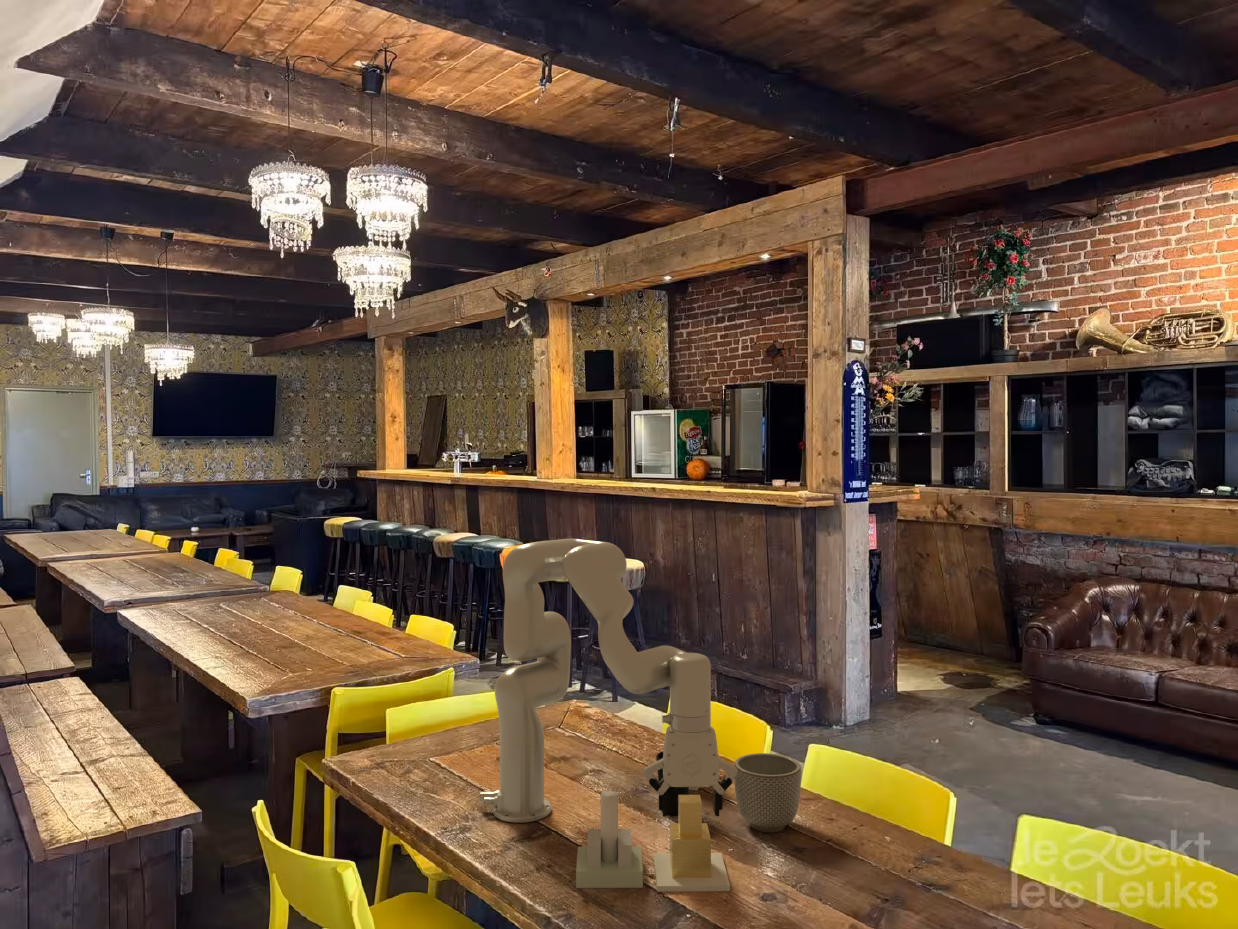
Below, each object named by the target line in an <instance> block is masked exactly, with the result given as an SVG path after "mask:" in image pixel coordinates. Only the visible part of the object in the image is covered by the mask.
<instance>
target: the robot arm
mask: <svg viewBox="0 0 1238 929" xmlns="http://www.w3.org/2000/svg"><path fill="white" fill-rule="evenodd" d="M627 568H628V567H627V558H626V556H625V554H624V552H623V551H622V549H620V547H618V546H617V545H616V544H614V543H611V542H607V541H598V540H597V541H596V540H588V539H582V538H581V539H580V538H561V539H560V538H559V539H553V540H541V541H535V542H529V543H525V544H521V545H518V546H516V547H515V548H513V549H512V550H510V551H509V553H508V554H507V556H506V557H505V559H504V561H503V566H502V581H503V589H504V612H503V617H504V618H503V619H504V620H503V649H504V653H505V655H506V656H507V658H508V659H510V660H511V661H514V662H527V661H532V660H536V661H534V662H530V663H525V664H521V665H518V666H514V667H511V668H509V669H506V670H505V671H503V672H502V673H501V674H500V675H499V676H498V677H497V679H496V681H495V684H494V697H495V701H496V706H497V713H498V722H499V723H498V724H499V726H498V727H499V789H497V790H495V789H494V791H480V793H479V802H483V805H493V807H492V813H493V815H494V817H495V818H496V819H498V820H501V821H503V822H509V823H514V824H515V823H518V824H519V823H521V824H523V823H532V822H535V821H539V820H541V819H544V818H546V817H547V816H548V815H549V814H550V813H551V812H552V803H551V802H550V800H548V799H546V798H545V747H544V746H545V742H544V741H545V740H544V738H545V737H544V736H545V734H544V726H543V723H542V720H541V719H540V717H539V715H538V713H537V708H540V707H542V706H546V705H548V704H551V703H554V702H557V701H559V700H561V699H562V698H563V697H565V695H566V694H567V691H568V689H569V684H570V675H571V674H570V673H571V652H572V636H571V630H570V626H569V624H568V622H567V620H566V618H565V617H564V616H563V615H561V614H560V613H558V612H555V611H545V596H544V592H543V590H542V587H541V586H540V584H539V583H544V582H550V581H551V582H552V581H556V580H557V581H558V580H562V579H563V580H564V579H566V580H567V582H569V584H570V586H571V587H572V588H573V589H574V591H575V593H576V594H577V595H578V597H579V598H580V599H581V600H582V602H583V604H584V605H585V607H586V608H587V609H588V610H589V612H590V614H592V616H593V618H594V619H595V620H596V622H597V625H598V627H597V628H598V630H597V637H598V638H597V640H598V645H599V650H600V654H601V657H602V659H603V662H604V663H605V665H606V666H607V667H608V669H609V671H610V672H611V673H612V675H613V677H615V679H616V681H617V682H618V683H619V684H620V686H622V688H624V689H625V690H627V692H629V693H631V694H634V695H643V694H647V693H650V692H653V691H655V690H658V689H663V688H667V687H669V712H668V714H666V715H662V716H661V717H662V718H661V720H662V721H661V722H662V724H668V726H667V727H666V728H665V729H666V730H665V735H664V741H663V751H662V752H663V758H662V759H660V760H658V761H657V760H656V761H654V762H653V763H651V764H649V765H646V766H644V768H643V774H644V776H645V778H646V779H647V782H648V783H649V785H650V786H651V788H652V789H654V791H656V792H657V794H658V811H661V810H662V812H661V813H662V817H665V818H666V817H667V816H668V815H667V794H666V790H667V789H668V788H669V787H670V786H671V787H699V788H703V787H704V788H705V787H707V788H708V787H710V788H711V787H712V788H713V790H712V791H713V792H712V794H713V796H712V798H713V799H712V800H713V801H712V802H713V803H712V805H713V808H712V809H713V812H714V816H716V817H720V811H722V810H723V795H724V794H725V791H727V789H729V787H730V786H732V784H733V781H735V776H736V774H737V769H736V767H734V765H732V764H730V763H728V762H727V761H725V760H722V759H721V758H719V751H718V750H719V749H718V748H719V747H718V741H717V734H716V730H715V729H714V727H712V724H711V723H712V721H711V720H712V719H711V717H712V715H711V712H712V711H711V710H712V708H711V705H712V703H711V702H712V701H711V699H712V698H711V697H712V696H711V692H712V689H711V688H712V687H711V686H712V685H711V680H712V677H711V676H712V674H711V668H712V667H711V661H710V659H709V657H708V656H706V655H705V654H701V653H698V652H687V651H685V650H682V649H679V648H677V647H676V646H675V647H674V646H670V645H659V646H656V647H653V648H648V649H644V650H640V651H637V649H636V647H634V645H633V644H632V642H631V641H630V640H629V638H628V636H627V635H626V632H625V630H624V626H623V624H624V623H623V620H624V619H625V618H626V616H628V614H629V613H630V611H631V610H632V608H633V606H634V597H633V595H632V594H631V593H630V591H629V590H628V589H627V587H626V586H625V585H624V584H623V582H622V581H621V579H622V578H623V576H624V575H625V573H626V571H627ZM661 768H663V778H662V780H661V781H660V782H659V781H658V778H656V777H655V776H654V773H655V772H658V770H660V769H661ZM719 769H720V770H723V771H724V772H726V773H727V774H726V776H725V777H724V778H723V779H722V780H721V781H720V777H719V776H720V770H719Z"/></svg>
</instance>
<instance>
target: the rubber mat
mask: <svg viewBox="0 0 1238 929" xmlns="http://www.w3.org/2000/svg"><path fill="white" fill-rule="evenodd" d="M653 862H654V863H653V864H654V865H655V866H654V865H653V866H654V873H655V874H654V875H655V884H656V892H657V893H658V892H660V893H661V892H662V893H663V892H664V893H665V892H666V893H667V892H674V893H676V892H677V893H679V892H731V884H730V883H731V882H730V880H729V876H728V873H727V870H726V869H727V868H726V866H725V862H724V858H723V855H722V852H711V878H672V871H671V864H670V852H653Z"/></svg>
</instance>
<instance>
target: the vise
mask: <svg viewBox="0 0 1238 929" xmlns="http://www.w3.org/2000/svg"><path fill="white" fill-rule="evenodd" d="M587 830H588V831H587V845H586V846H578V847H577V853H576V854H577V855H576V869H575V888H576V889H620V888H622V889H625V888H626V889H632V888H633V889H634V888H638V889H639V888H640V889H641V888H644V867H643V858H642V857H643V855H642V846H641V845H640V846H639V845H638V846H637V845H636V846H635V845H634V846H633V845H632V832H631V831H632V830H631V828H619V793H618V792H617V791H614V790H613V791H612V790H606V791H605V790H604V791H602V792H601V793H600V828H592V829H591V828H589V829H587Z"/></svg>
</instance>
